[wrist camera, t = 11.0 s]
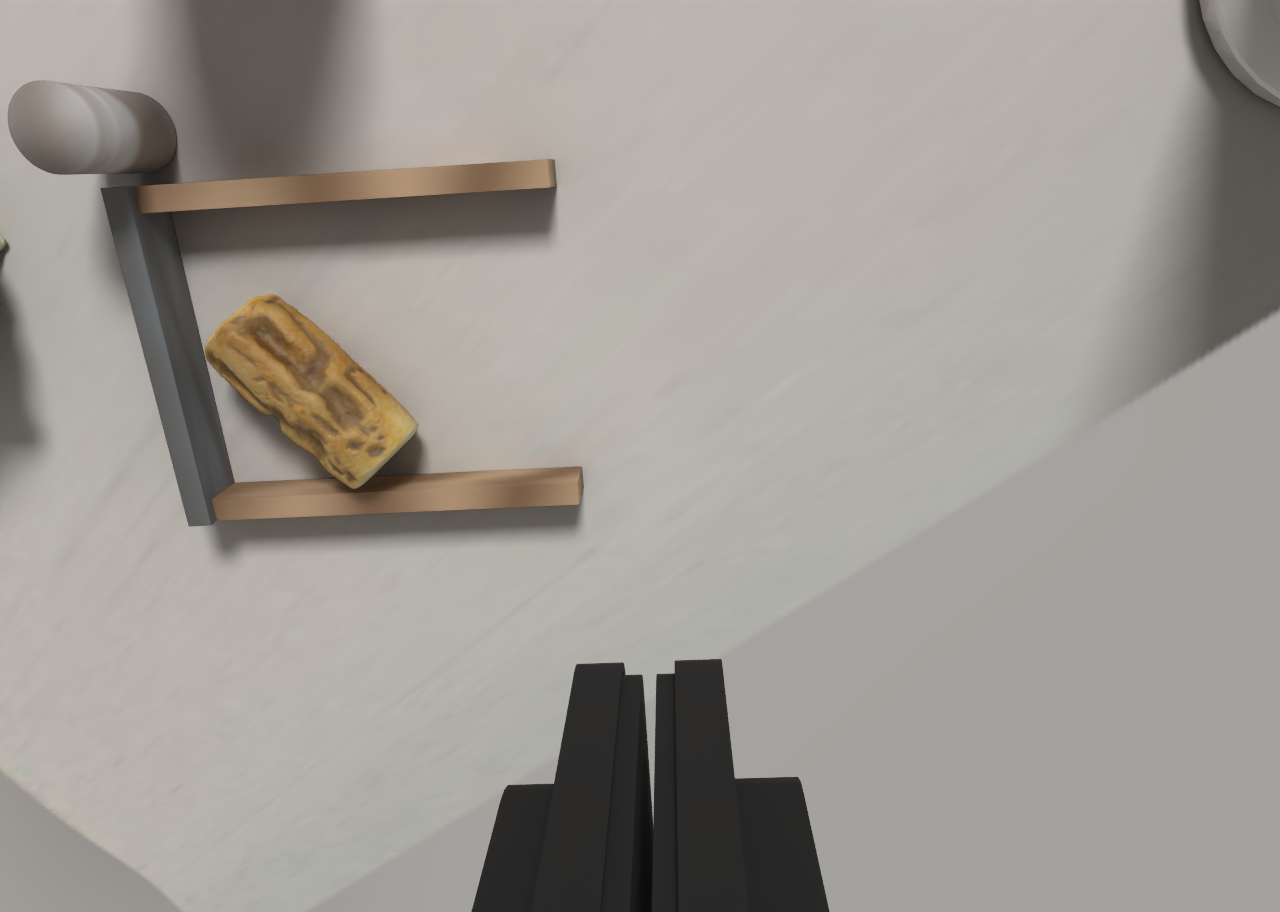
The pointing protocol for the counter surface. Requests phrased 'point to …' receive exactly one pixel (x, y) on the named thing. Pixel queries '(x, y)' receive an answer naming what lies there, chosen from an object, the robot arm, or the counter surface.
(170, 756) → the counter surface
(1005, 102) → the counter surface
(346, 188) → the bay
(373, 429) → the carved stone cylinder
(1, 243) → the passion flower
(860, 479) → the counter surface
